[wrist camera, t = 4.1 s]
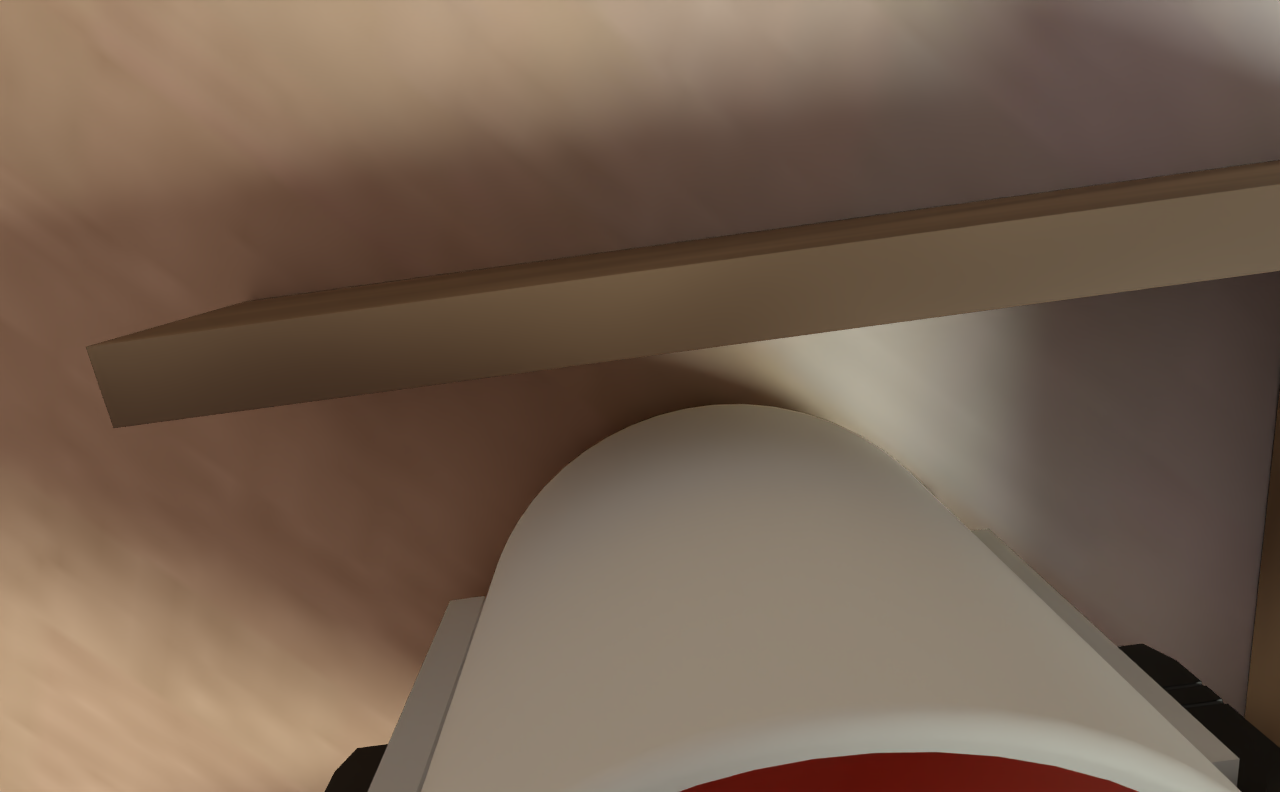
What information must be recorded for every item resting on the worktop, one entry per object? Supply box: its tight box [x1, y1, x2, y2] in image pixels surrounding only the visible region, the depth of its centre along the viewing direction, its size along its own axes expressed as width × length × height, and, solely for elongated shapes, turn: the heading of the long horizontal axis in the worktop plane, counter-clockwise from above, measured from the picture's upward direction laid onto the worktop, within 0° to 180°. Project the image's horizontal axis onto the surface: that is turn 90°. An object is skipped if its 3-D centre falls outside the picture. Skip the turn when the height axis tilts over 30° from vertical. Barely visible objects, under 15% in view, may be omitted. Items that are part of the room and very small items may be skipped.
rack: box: [86, 160, 1280, 748], centre depth 13 cm, size 16×23×8 cm
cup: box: [421, 404, 1241, 792], centre depth 12 cm, size 10×10×10 cm
